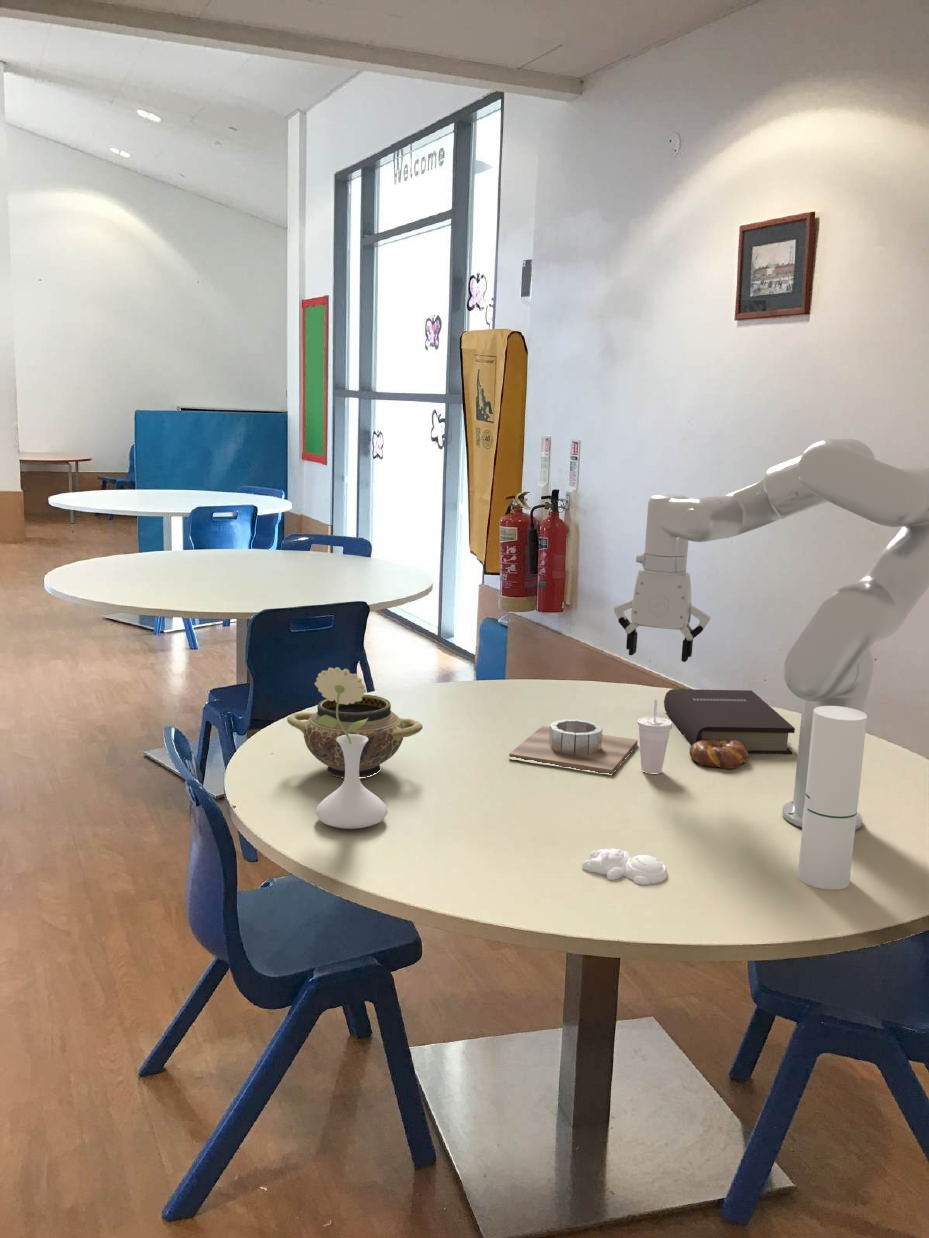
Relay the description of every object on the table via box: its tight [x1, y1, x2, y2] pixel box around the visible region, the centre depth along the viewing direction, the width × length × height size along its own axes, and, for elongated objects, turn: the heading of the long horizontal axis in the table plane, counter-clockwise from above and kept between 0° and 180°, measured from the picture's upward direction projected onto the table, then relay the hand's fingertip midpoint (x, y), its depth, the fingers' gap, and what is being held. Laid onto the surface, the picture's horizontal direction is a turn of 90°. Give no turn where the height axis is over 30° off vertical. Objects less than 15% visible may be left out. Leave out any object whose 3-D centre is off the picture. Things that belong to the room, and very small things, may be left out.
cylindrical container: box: [797, 706, 868, 891], centre depth 153 cm, size 7×7×25 cm
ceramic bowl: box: [286, 694, 423, 778], centre depth 193 cm, size 24×18×15 cm
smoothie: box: [636, 698, 673, 774], centre depth 198 cm, size 6×6×14 cm
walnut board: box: [508, 725, 639, 774], centre depth 209 cm, size 20×20×1 cm
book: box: [663, 688, 796, 755], centre depth 225 cm, size 28×20×6 cm
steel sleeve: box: [549, 718, 603, 755], centre depth 209 cm, size 10×10×4 cm
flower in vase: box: [314, 666, 388, 830], centre depth 170 cm, size 13×11×25 cm
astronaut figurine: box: [581, 848, 668, 886], centre depth 157 cm, size 9×12×3 cm
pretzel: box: [689, 739, 749, 770], centre depth 207 cm, size 12×11×4 cm
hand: (658, 657), depth 196 cm, fingers open, 9 cm apart
